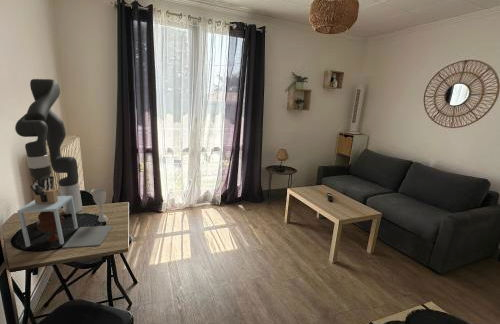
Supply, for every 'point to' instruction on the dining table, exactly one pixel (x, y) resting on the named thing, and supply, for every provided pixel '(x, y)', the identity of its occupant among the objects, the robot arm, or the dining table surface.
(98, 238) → the mat
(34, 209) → the cover
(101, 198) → the chalice
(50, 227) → the ice cream bowl
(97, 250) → the dining table surface
